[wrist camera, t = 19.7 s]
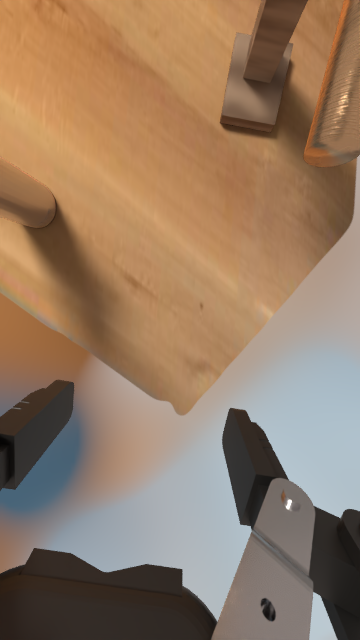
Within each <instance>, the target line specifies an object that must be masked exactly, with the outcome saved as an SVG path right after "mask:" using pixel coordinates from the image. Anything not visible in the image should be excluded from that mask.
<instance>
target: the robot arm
mask: <svg viewBox="0 0 360 640" xmlns="http://www.w3.org/2000/svg"><path fill="white" fill-rule="evenodd" d="M55 212H56V203H55V199H54V197H53V195H52V193H51V191H50V190H49V189H48V188H47V187H46V186H45V185H44V184H42V183H41V182H39V181H38V180H36V179H35V178H33V177H31V176H30V175H28V174H27V173H25V172H24V171H22V170H21V169H19V168H18V167H16V166H14V165H13V164H11V163H10V162H8V161H7V160H5V159H4V158H2V157H0V218H4V219H7V220H10V221H13V222H16V223H20V224H23V225H26V226H29V227H33V228H42V227H45V226H47V225H48V224H49V223H50V222H51V221H52V220H53V218H54V216H55ZM73 394H74V383H73V382H69V381H62V380H56V381H54V382H53V383H52V384H51V385H49V386H48V387H47V388H46V389H45V388H42V389H39V390H37V391H35V392H33V393H30V394H29V395H28V396H27V397H25V398H24V399H23V400H22V401H21V402H19V403H18V404H16V405H15V406H14V407H13V409H10V410H9V411H8V412H6V413H5V414H4V415H2V416H1V417H0V490H1V489H2V488H7V489H14V490H15V489H16V488H17V487H18V485H19V484H20V483H21V481H22V480H23V479H24V477H25V476H26V475H27V474H28V472H29V471H30V470H31V469H32V467H33V466H34V465H35V464H36V462H37V461H38V460H39V458H40V457H41V456H42V455H43V453H44V452H45V451H46V449H47V448H48V447H49V445H50V444H51V443H52V442H53V440H54V439H55V438H56V437H57V435H58V434H59V433H60V431H61V430H62V429H63V428H64V426H65V425H66V424H67V422H68V421H69V419H70V417H71V414H72V410H73ZM222 444H223V450H224V454H225V459H226V463H227V468H228V472H229V477H230V481H231V485H232V490H233V494H234V498H235V503H236V507H237V512H238V516H239V521H240V524H241V525H247V526H251V529H252V532H251V535H250V537H249V540H248V543H247V545H246V548H245V551H244V553H243V556H242V559H241V561H240V564H239V566H238V569H237V572H236V574H235V577H234V580H233V583H232V585H231V588H230V591H229V593H228V596H227V598H226V601H225V604H224V607H223V609H222V612H221V615H220V617H219V620H218V622H217V621H216V619H215V617H214V616H213V614H212V613H211V612H210V610H209V609H208V608H207V606H206V605H205V604H204V603H203V602H202V601H201V600H200V599H199V598H198V597H197V596H196V595H195V594H194V593H192V592H191V591H190V590H189V589H187V588H185V587H184V586H182V569H177V568H169V567H163V566H155V565H149V564H145V565H141V566H136V567H131V568H127V569H122V570H117V571H113V572H102V571H100V570H99V569H97V568H95V567H94V566H92V565H90V564H88V563H87V562H85V561H83V560H82V559H80V558H78V557H76V556H75V555H73V554H71V553H65V552H58V551H51V550H44V549H37V548H34V549H33V551H32V553H31V555H30V557H29V559H28V560H27V562H26V564H25V565H22V566H18V567H15V568H12V569H9V570H7V571H5V572H3V573H1V574H0V640H309V633H310V622H311V611H312V599H313V592H315V593H317V594H318V595H320V596H321V598H322V601H323V603H324V606H325V608H326V611H327V613H328V616H329V618H330V621H331V623H332V626H333V629H334V631H335V634H336V637H337V639H338V640H360V511H357V510H353V509H347V510H345V511H344V512H343V515H342V517H341V518H339V517H336V516H334V515H332V514H330V513H328V512H326V511H323V510H321V509H319V508H317V507H315V506H313V503H312V501H311V500H310V498H309V497H308V496H307V494H306V493H305V492H304V491H303V490H302V489H301V488H300V487H299V486H297V485H296V484H294V483H293V482H291V481H289V479H288V478H287V475H286V474H285V472H284V470H283V468H282V466H281V464H280V462H279V460H278V458H277V456H276V454H275V452H274V451H273V448H272V446H271V444H270V443H269V440H268V438H267V436H266V434H265V433H264V431H263V430H262V429H261V428H260V427H259V426H258V425H257V424H256V423H254V422H251V420H250V418H249V416H248V414H247V412H246V411H245V410H240V409H234V408H230V409H229V412H228V416H227V420H226V424H225V428H224V431H223V439H222Z"/></svg>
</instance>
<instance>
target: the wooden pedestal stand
mask: <svg viewBox="0 0 360 640" xmlns="http://www.w3.org/2000/svg"><path fill="white" fill-rule="evenodd" d="M307 1H308V0H261V4H260V7H259V11H258V14H257V18H256V21H255V25H254V28H253V32H252V35H247V34H242V33H236V37H235V42H234V47H233V52H232V58H231V63H230V69H229V75H228V80H227V86H226V91H225V97H224V103H223V108H222V114H221V119H220V123H224V124H229V125H234V126H239V127H245V128H250V129H255V130H260V131H266V132H271V130H272V129H273V127H274V126H275V122H276V118H277V113H278V109H279V105H280V100H281V96H282V91H283V87H284V83H285V78H286V74H287V70H288V65H289V61H290V57H291V52H292V48H293V44H292V43H289V41H290V38H291V36H292V34H293V32H294V30H295V27H296V25H297V23H298V21H299V19H300V16H301V14H302V12H303V10H304V8H305V5H306V3H307Z"/></svg>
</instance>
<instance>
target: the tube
mask: <svg viewBox="0 0 360 640" xmlns="http://www.w3.org/2000/svg"><path fill="white" fill-rule="evenodd" d="M359 155H360V0H344V3H343V7H342V11H341V14H340V18H339V22H338V26H337V30H336V33H335V37H334V41H333V45H332V49H331V53H330V56H329V60H328V64H327V68H326V72H325V75H324V79H323V83H322V87H321V91H320V94H319V98H318V102H317V106H316V110H315V113H314V117H313V121H312V125H311V129H310V132H309V136H308V140H307V144H306V148H305V151H304V155H303V158H304V160H305V162H306V163H308V164H310V165H312V166H316V167H332V166H338V165H342V164H345V163H347V162H350V161H352V160H353V159H355V158H356V157H358V156H359Z"/></svg>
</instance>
